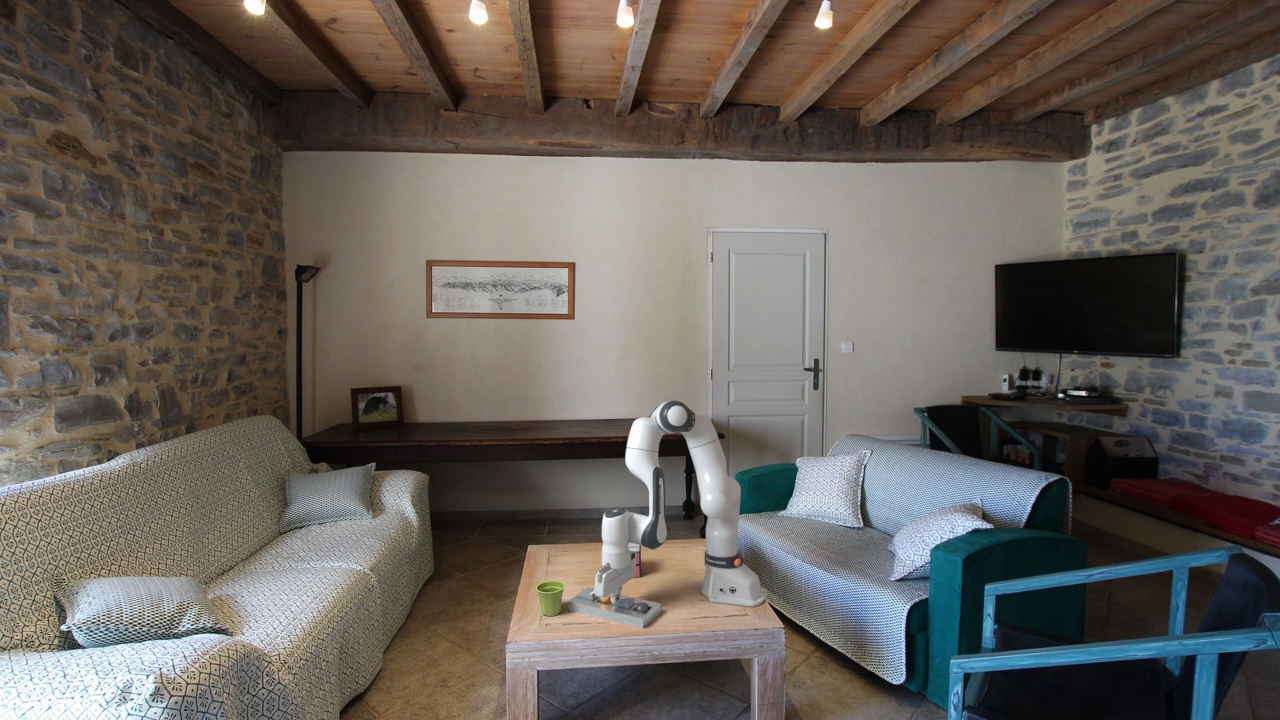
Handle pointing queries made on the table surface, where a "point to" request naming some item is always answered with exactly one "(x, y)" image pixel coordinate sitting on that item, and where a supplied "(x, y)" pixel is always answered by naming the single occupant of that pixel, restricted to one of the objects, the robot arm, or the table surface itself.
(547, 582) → the plant pot
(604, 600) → the button orange
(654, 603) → the panel
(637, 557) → the puzzle cube
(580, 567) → the table surface
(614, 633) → the table surface
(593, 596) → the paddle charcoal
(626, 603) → the rocker blue
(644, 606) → the button black
